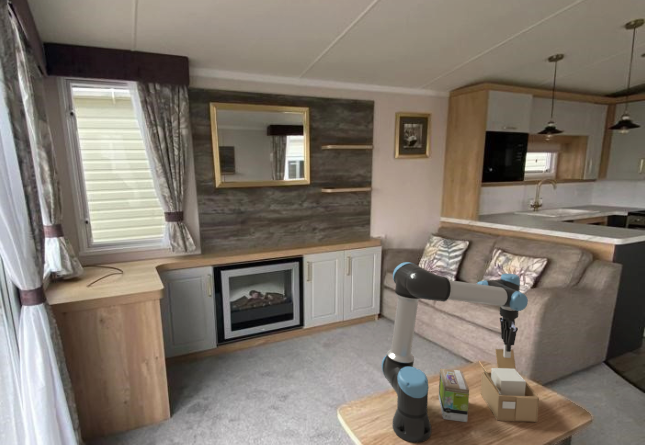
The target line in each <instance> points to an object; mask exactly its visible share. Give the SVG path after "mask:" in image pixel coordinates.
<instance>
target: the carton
mask: <svg viewBox="0 0 645 445" xmlns="http://www.w3.org/2000/svg"><path fill="white" fill-rule="evenodd" d="M487 372H488V374H489V376H490V377H491V379H492V381H493V382H494V384H495V386H496V388H497V389H498V391H499V392H498V391H497V390H496V389H495V387H494V386H493V384H492V383H491V381H490V380H489V378H488V377H487V375H486V373H485V372H484V371H481V380H480V381H481V382H480V396H481V397H482V398H483V400H484V402H485V403H486V405H487V406H488V408H489V410H490V411H491V413H492V415H493V416H494V417H495V420H497V421H498V422H499V421H501V422H519V423H520V422H522V423H525V422H526V423H538V419H539V418H538V417H539V416H538V415H539V404H540V403H539V402H540V397H539V396H538V393H536V391H535V390H534V389H533V388H532V387H531V385H530V384H528V382H527V381H526V380H525V379H524V378H523V377H522V375H520V373H519V372H518V371H517V369H516V370H515V369H510V368H497V367H491V371H487Z"/></svg>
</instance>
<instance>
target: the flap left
mask: <svg viewBox="0 0 645 445" xmlns="http://www.w3.org/2000/svg"><path fill="white" fill-rule="evenodd" d="M478 363H479V365H480V366H481V368H482V370H483V372H485V373H486V375H487V377H488V378H489V380H490V381H491V383H492V384H493V386H494V387H495V389H496V390H497V391H498V389H497V388H496V386H495V384H494V382H493V381H492V379H491V377H490V376H489V374H488V372H489V371H487V370H486V368H485V367H484V365H483V364H482V363H481V361H480V360H478ZM498 392H499V391H498Z"/></svg>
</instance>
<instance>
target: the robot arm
mask: <svg viewBox="0 0 645 445" xmlns="http://www.w3.org/2000/svg"><path fill="white" fill-rule="evenodd" d="M392 279H393V282H394V284H395V287H394V288H395V289H394V293H395V296H396V297H397V300H396V302H397V303H396V310H395V316H394V324H393V331H392V341H391V346H390V347H391V348H390V349H389V350H387V352H386V354H385V356H384V357H383V358H382V361H381V372H382V373H383V375H384V377H385V379H386V380H387V381H388V383H389V384H390V386H391V387H392V389H393V390H394V392H395V393H396V396H397V398H396V399H397V403H396V404H397V408H396V410H395V413H394V415H393V416H392V417H393V418H392V429H393V432H394V433H395V434H396V435H397V437H399V438H401V439H402V440H404V441H406V442H409V443H423V442H425V441H427V440H428V439H430V437H431V434H432V425H431V421H430V418H429V414H428V404H429V403H428V398H429V397H428V396H429V378H428V377H427V374H425V372H424V371H423V370H422V369H419V368H417V367H414V361H415V357H414V355H413V354H412V351H413V349H412V348H413V341H414V335H415V326H416V319H417V313H418V305H419V301H420V300H428V301H434V302H447V301H448V300H449V301H456V302H457V301H458V302H463V303H464V302H465V303H474V304H481V305H488V306H489V305H490V306H496V307H497V306H498V307H499V315H500V316H501V317H499V322H500V334H501V338H500V339H501V340H502V342H503V349H504V351H503V356H504V358H511V349H512V346H515V342H516V337H517V332H518V330H519V328H518V327H516V325H515V324H516V321H515V320H516V319H518V317H519V312H522V311H523V310H525V309H526V307H527V306H528V302H529V300H528V296H527V295H526V294H524V293H522V292H521V291H520V289H521V288H520V286H521V280H520V276H519V275H518V274H514V273H502V274H501V275H500V279H491V280H490V279H488V280H487V279H485V280H480V281H478V282H476V283H471V282H465V281H457V280H450V279H449V278H448V277H446V276H442V275H441V276H440V275H438V274H435V273H433V272H431V271H429V270H427V269H425V268H422V267H421V266H420V265H418V264H416V263H413V262H409V261H404V262H402V263H400V264H398V265H397V266H396V267H395V268H394V269H393V273H392Z"/></svg>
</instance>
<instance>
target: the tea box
mask: <svg viewBox="0 0 645 445" xmlns="http://www.w3.org/2000/svg"><path fill="white" fill-rule="evenodd" d="M438 382H439V384H438V385H439V386H438V401H439V405H440V410H441V416H442V419H443V420H449V421H456V422H464V423H467V422H468V416H469V413H468V412H469V398H470V388H469V386H468V383H467V380H466V377H465V373H464V372H463V370H459V369H458V370H457V369H447V368H440V369H439V381H438Z"/></svg>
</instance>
